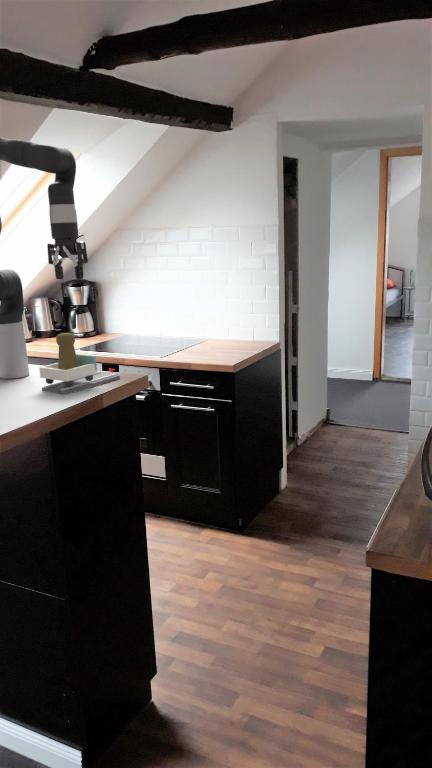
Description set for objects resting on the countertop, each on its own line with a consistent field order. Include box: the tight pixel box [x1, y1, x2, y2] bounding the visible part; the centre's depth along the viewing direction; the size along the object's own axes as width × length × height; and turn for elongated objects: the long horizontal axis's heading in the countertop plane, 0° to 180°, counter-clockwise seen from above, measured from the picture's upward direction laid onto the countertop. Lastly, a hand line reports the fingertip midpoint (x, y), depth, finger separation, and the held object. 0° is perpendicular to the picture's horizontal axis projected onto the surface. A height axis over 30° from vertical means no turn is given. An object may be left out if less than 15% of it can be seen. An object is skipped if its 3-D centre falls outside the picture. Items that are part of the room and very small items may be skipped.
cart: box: [38, 353, 98, 387], centre depth 171 cm, size 11×11×7 cm
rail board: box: [41, 371, 121, 396], centre depth 175 cm, size 10×21×1 cm, turn 144°
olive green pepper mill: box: [55, 332, 79, 370], centre depth 170 cm, size 6×6×11 cm
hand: (69, 279), depth 175 cm, fingers open, 8 cm apart
